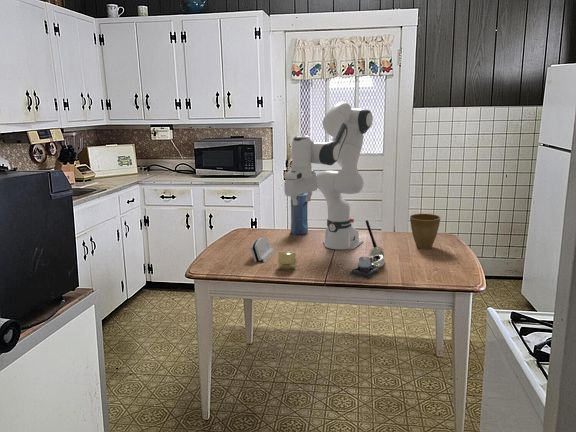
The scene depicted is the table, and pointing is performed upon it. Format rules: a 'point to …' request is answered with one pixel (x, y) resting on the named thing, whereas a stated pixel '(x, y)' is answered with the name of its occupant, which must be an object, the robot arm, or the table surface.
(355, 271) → the flange socket
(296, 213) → the bottle
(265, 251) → the grey bevelled device
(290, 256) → the cylinder
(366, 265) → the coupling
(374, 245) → the butterfly valve
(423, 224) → the plant pot
